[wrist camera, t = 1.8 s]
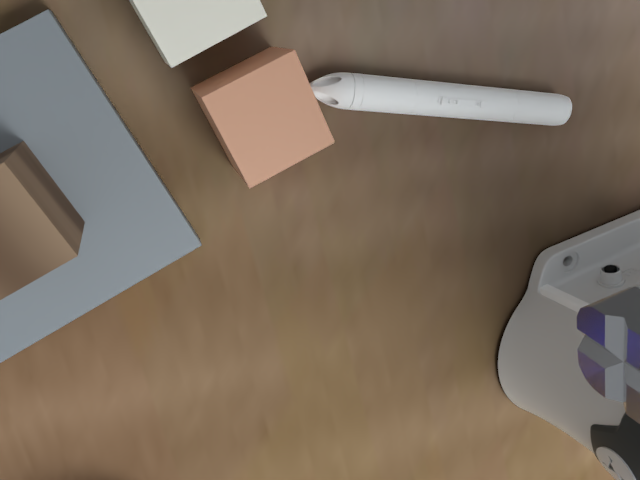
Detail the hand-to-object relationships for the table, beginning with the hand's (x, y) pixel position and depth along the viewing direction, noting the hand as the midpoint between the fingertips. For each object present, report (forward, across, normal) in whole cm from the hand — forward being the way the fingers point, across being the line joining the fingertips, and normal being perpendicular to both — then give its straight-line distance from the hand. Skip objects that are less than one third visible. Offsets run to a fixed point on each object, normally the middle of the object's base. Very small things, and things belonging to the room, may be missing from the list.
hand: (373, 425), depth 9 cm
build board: (+25, +10, 0) cm, 27 cm away
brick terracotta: (+25, -4, -1) cm, 25 cm away
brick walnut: (+24, +10, 0) cm, 26 cm away
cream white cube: (+25, -2, -8) cm, 26 cm away
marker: (+26, -15, +2) cm, 30 cm away
